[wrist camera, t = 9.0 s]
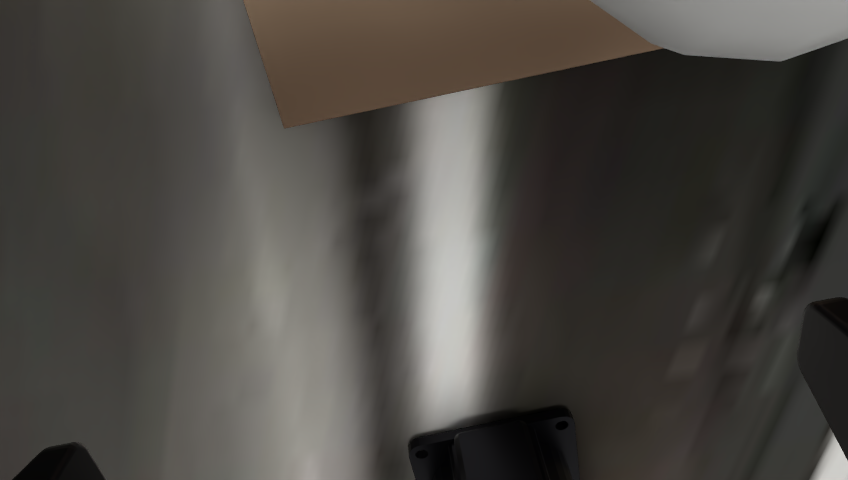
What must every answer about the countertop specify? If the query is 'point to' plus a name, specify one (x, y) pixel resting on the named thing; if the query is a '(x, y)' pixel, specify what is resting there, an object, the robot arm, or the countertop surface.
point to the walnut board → (420, 48)
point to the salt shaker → (734, 25)
